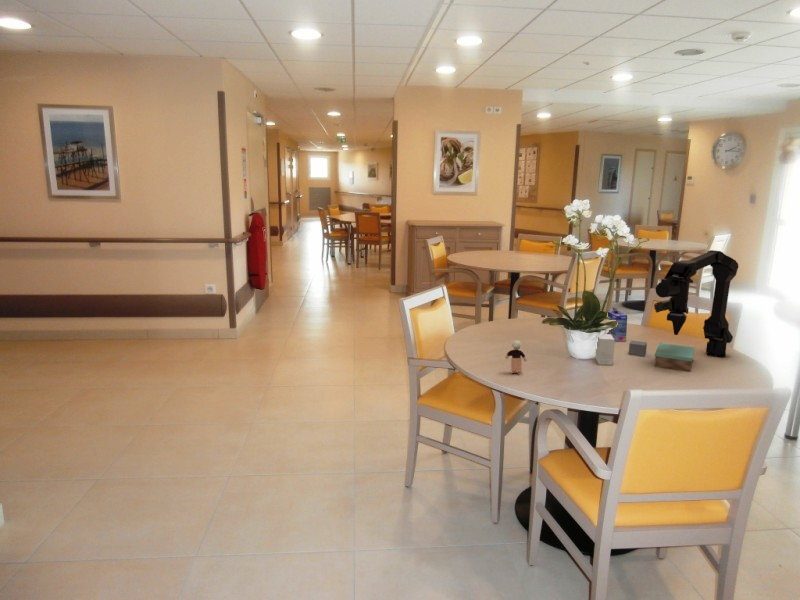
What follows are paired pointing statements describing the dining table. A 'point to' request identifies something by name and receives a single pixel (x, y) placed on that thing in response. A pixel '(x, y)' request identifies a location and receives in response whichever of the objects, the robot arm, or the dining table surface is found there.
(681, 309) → the robot arm
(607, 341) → the small box
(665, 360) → the storage box
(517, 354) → the grandmother figurine
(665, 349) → the lid
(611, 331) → the ink cartridge box
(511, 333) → the dining table surface
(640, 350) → the block
